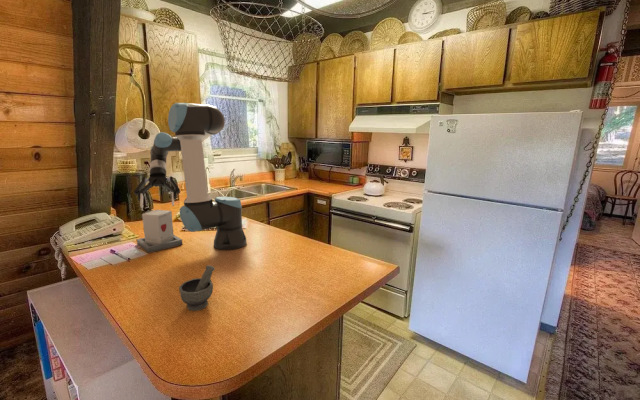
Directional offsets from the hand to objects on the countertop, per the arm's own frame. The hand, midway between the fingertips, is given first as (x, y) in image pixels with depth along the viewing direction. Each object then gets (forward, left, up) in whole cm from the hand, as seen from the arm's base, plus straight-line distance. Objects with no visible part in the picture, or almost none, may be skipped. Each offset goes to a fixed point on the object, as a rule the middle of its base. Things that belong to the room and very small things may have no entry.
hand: (157, 205), depth 146 cm
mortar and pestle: (-69, +13, -18) cm, 72 cm away
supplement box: (-7, +3, -17) cm, 18 cm away
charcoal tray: (-7, +3, -18) cm, 19 cm away
